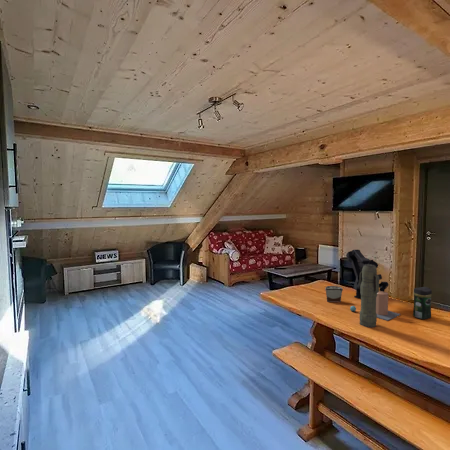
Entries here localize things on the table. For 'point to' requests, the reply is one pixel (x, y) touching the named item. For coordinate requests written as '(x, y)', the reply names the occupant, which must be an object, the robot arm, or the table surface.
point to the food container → (333, 293)
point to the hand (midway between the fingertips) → (376, 296)
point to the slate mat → (388, 316)
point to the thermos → (368, 295)
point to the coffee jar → (422, 303)
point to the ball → (353, 308)
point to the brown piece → (382, 303)
